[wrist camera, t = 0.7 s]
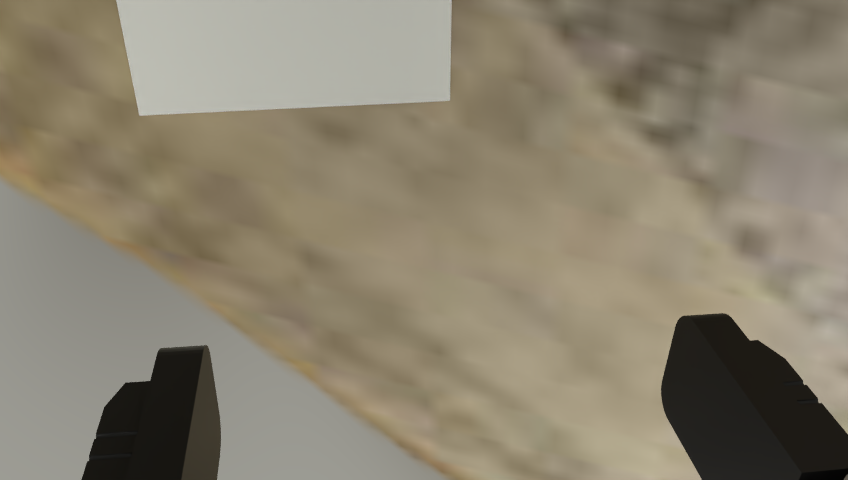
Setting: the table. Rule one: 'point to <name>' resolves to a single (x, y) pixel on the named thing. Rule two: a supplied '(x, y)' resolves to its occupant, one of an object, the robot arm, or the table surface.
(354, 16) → the pad
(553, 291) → the table surface
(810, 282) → the table surface
